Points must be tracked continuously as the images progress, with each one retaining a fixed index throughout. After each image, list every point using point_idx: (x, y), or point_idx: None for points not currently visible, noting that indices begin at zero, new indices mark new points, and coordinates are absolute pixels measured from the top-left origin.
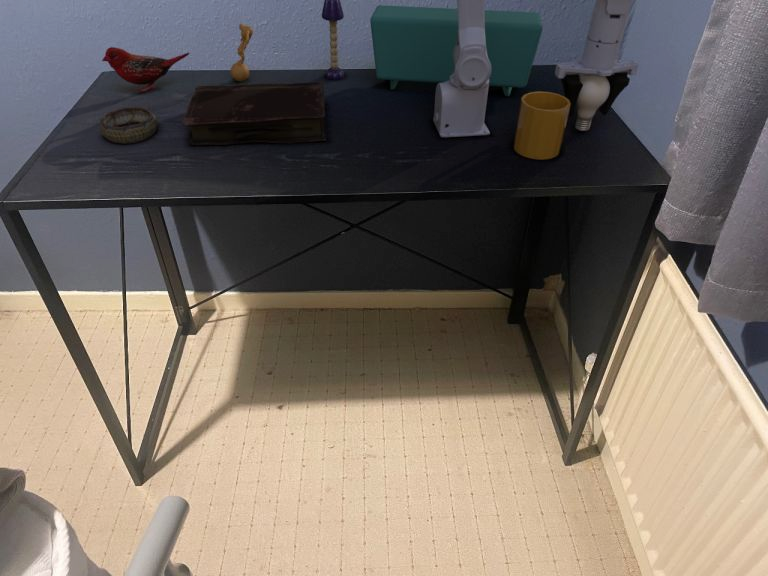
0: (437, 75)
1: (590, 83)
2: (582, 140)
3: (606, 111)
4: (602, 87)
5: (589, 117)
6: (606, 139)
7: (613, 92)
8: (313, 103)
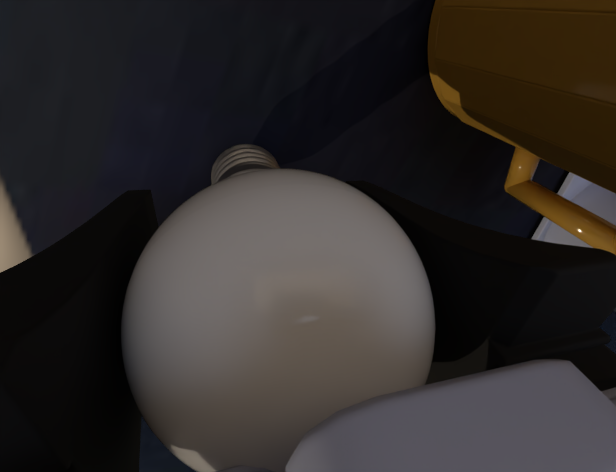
0: None
1: (411, 317)
2: (277, 70)
3: (132, 195)
4: (279, 270)
5: (250, 169)
6: (134, 58)
7: (88, 270)
8: None
